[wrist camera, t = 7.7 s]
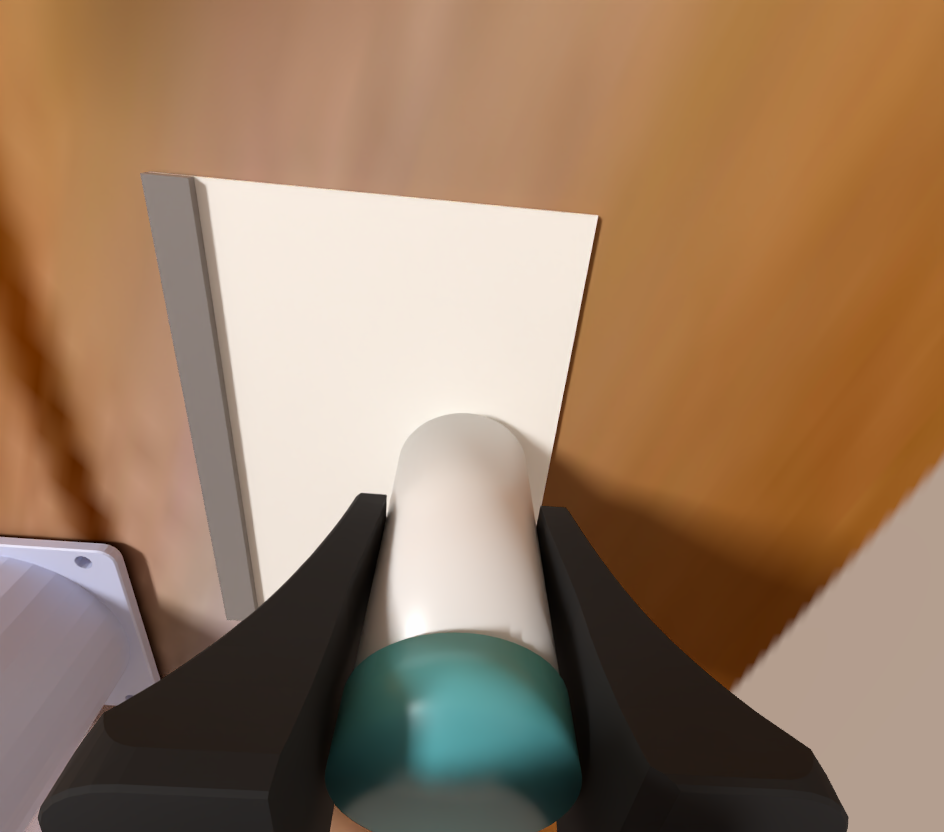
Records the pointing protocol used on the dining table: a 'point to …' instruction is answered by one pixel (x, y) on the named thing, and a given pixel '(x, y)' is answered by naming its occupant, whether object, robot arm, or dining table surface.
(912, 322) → the dining table surface
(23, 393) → the dining table surface
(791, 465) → the dining table surface
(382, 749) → the white teal cylinder
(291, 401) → the white rectangular slab
